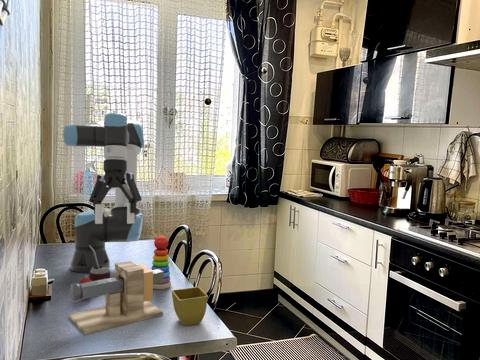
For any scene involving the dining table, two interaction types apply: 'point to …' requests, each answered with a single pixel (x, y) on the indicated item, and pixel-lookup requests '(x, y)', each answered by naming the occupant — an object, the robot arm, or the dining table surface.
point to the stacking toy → (161, 261)
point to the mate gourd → (98, 270)
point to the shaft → (105, 286)
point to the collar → (147, 283)
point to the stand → (119, 303)
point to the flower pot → (189, 305)
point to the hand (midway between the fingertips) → (114, 223)
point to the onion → (85, 280)
